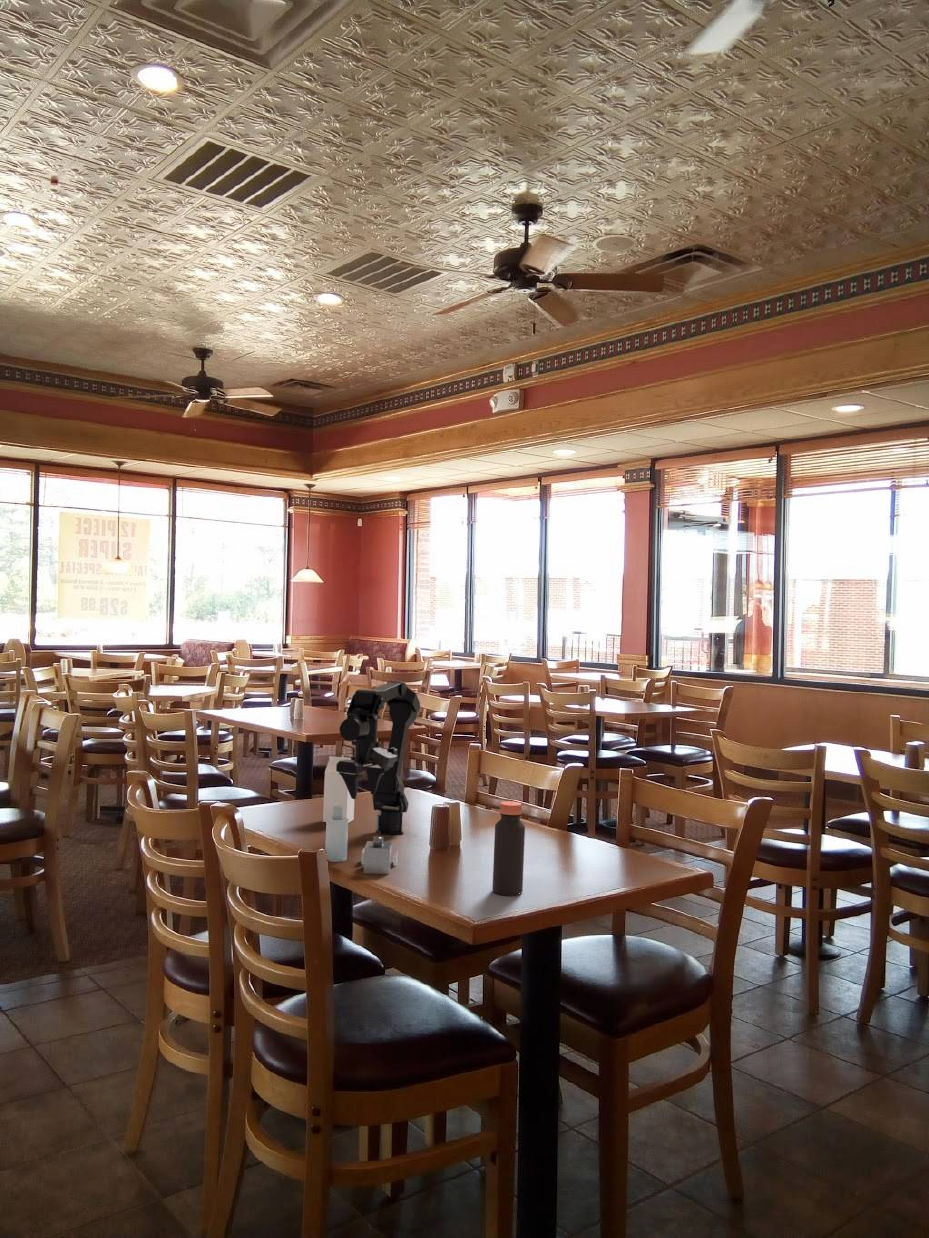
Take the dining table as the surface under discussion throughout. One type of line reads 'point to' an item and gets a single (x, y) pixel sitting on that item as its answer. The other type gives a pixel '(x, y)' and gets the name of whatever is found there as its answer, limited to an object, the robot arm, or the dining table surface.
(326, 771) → the milk carton
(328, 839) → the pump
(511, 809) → the bottle
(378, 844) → the motor
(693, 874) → the dining table surface
